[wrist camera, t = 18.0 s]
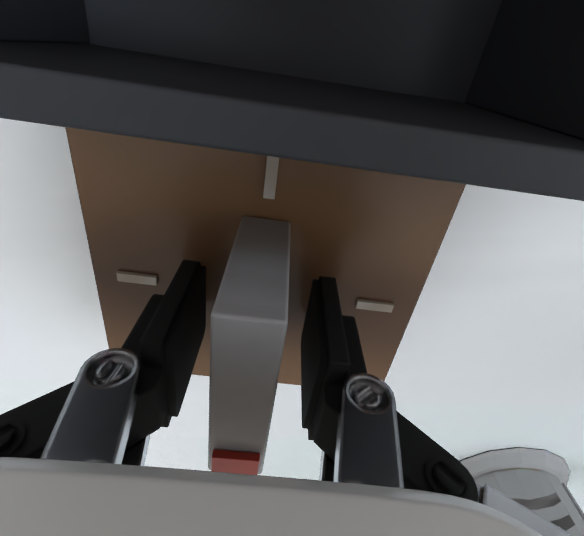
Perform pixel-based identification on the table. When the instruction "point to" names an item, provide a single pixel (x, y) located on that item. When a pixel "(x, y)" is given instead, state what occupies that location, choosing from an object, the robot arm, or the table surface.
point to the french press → (531, 483)
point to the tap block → (267, 205)
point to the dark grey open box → (317, 81)
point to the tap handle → (248, 345)
